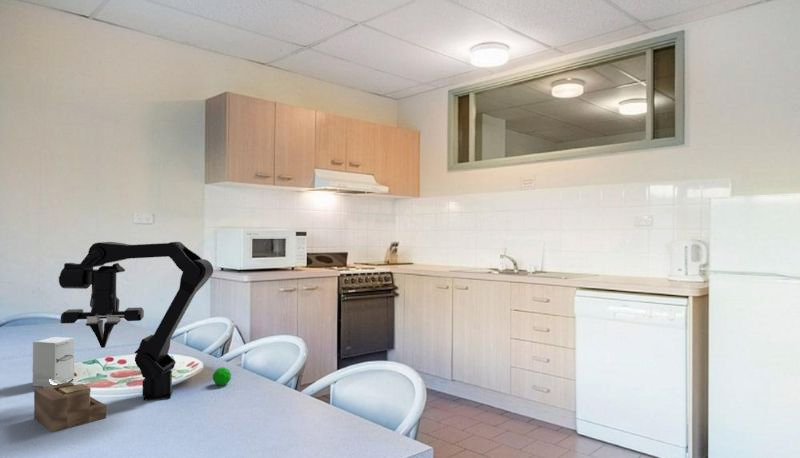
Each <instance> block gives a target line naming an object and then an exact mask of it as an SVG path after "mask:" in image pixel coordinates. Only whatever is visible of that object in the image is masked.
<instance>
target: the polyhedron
mask: <svg viewBox="0 0 800 458" xmlns="http://www.w3.org/2000/svg"><path fill="white" fill-rule="evenodd" d="M212 379H213V380H212V381H213V382H214V383H215V385H217V386H222V387H223V386H225V385H227V384H228V383H229V382H230V381H231V379H232V373H231V372H230V369H229V368H226V367H219V368H217V369H216V370H214V372H213V374H212Z"/></svg>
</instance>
